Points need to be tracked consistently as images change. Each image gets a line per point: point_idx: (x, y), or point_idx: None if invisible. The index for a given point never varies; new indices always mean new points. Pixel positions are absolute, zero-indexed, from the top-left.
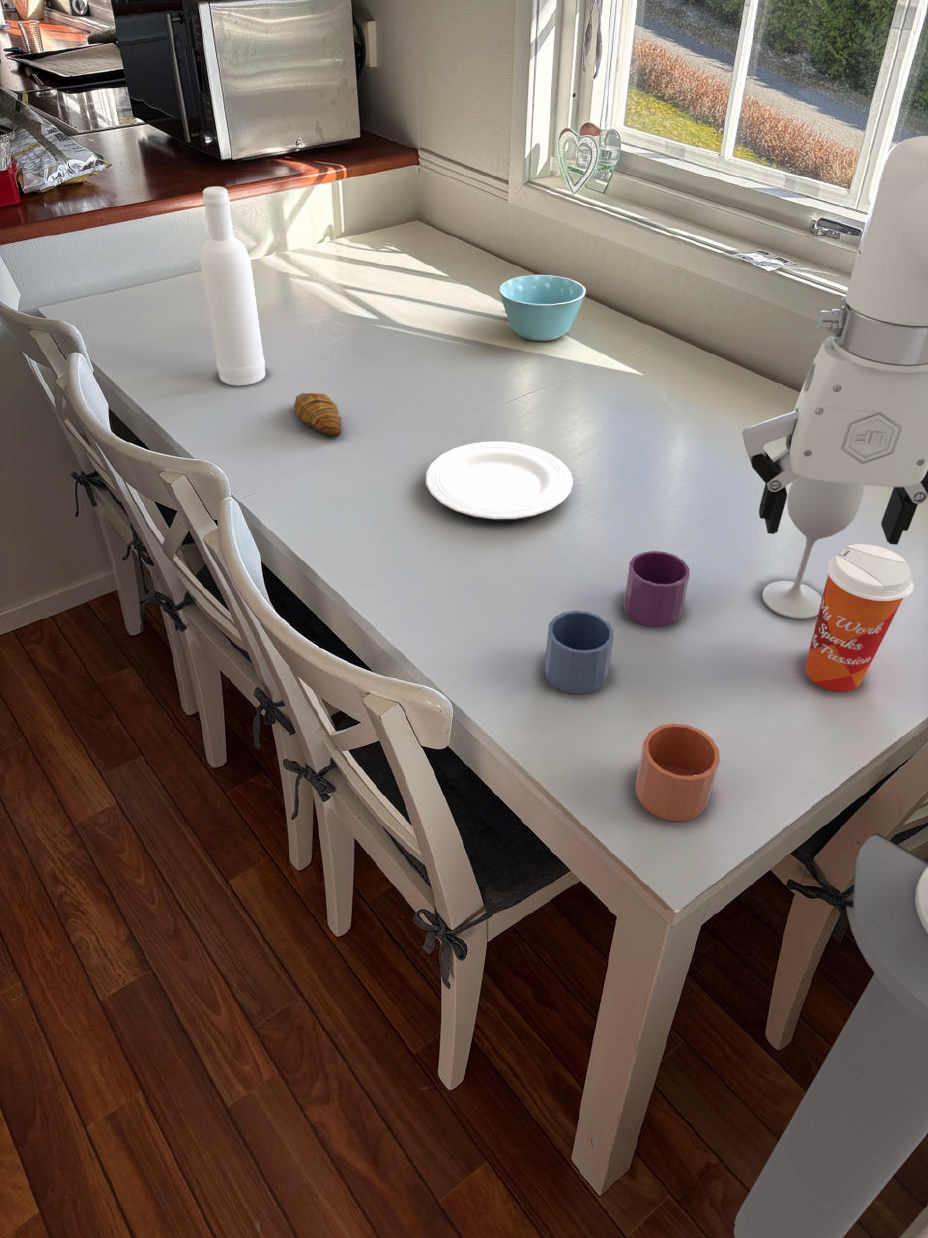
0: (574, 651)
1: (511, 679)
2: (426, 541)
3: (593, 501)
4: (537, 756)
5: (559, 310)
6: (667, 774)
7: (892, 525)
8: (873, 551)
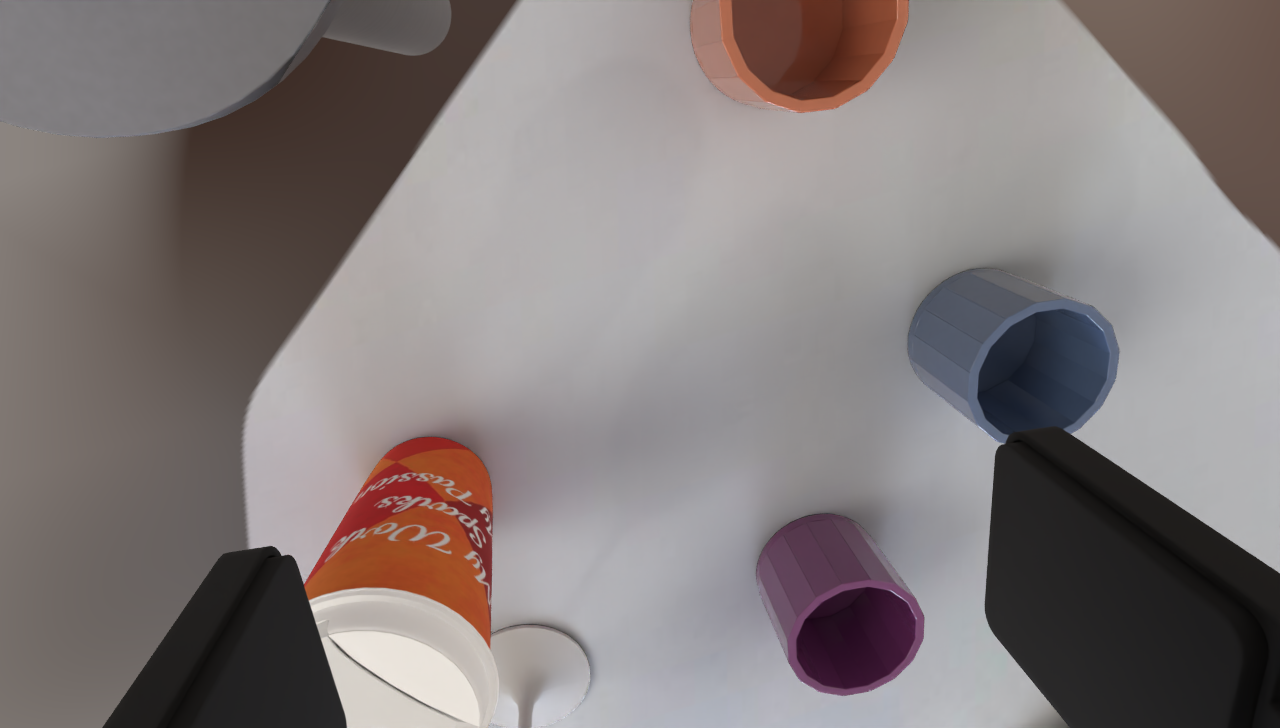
0: (1062, 301)
1: (1103, 275)
2: None
3: None
4: (1053, 56)
5: None
6: None
7: (258, 662)
8: None
